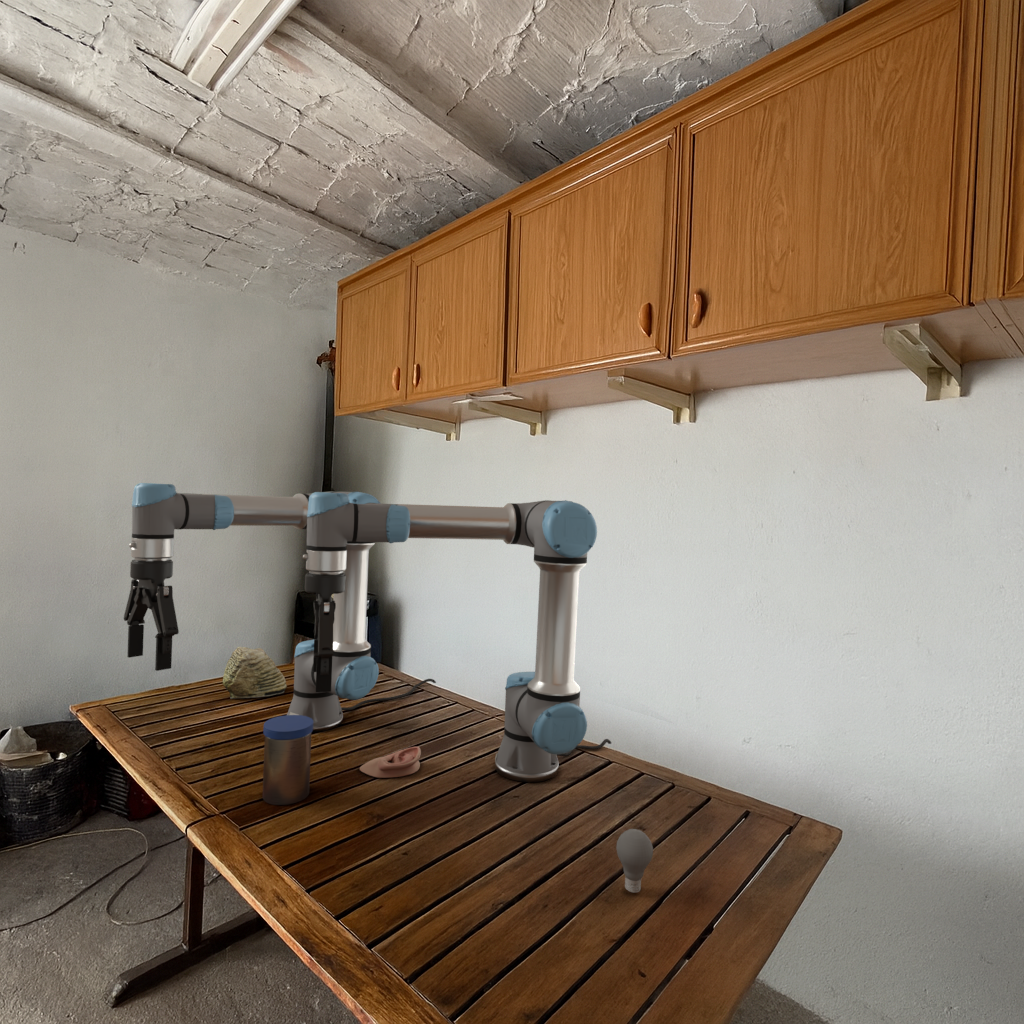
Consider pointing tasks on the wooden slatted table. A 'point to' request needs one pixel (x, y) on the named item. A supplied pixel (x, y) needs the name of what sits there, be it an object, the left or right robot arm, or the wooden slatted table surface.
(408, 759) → the anatomical model
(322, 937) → the wooden slatted table surface
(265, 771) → the jar
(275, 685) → the fossil
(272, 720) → the lid
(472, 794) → the wooden slatted table surface
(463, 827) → the wooden slatted table surface
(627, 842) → the light bulb
